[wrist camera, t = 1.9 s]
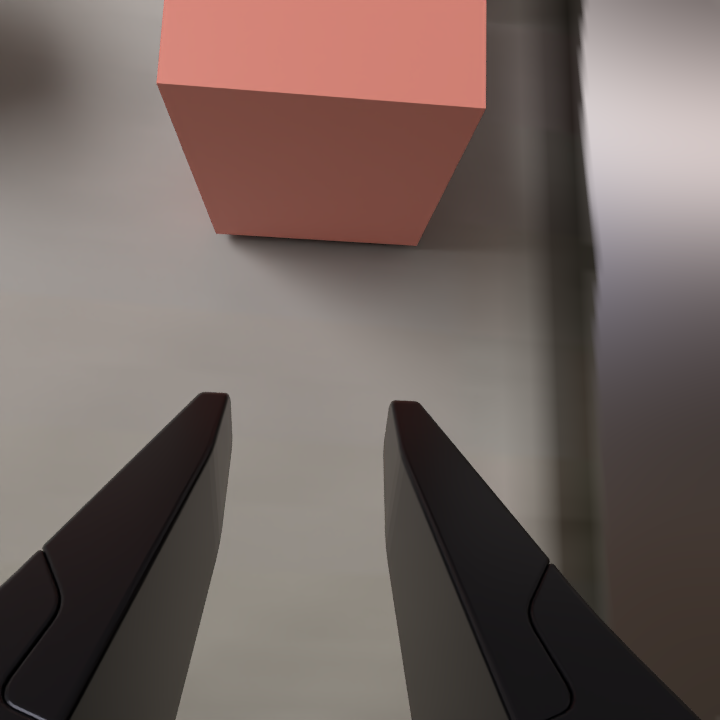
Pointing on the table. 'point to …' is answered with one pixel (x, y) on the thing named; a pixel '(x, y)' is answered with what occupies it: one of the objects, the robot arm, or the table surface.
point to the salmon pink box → (323, 110)
